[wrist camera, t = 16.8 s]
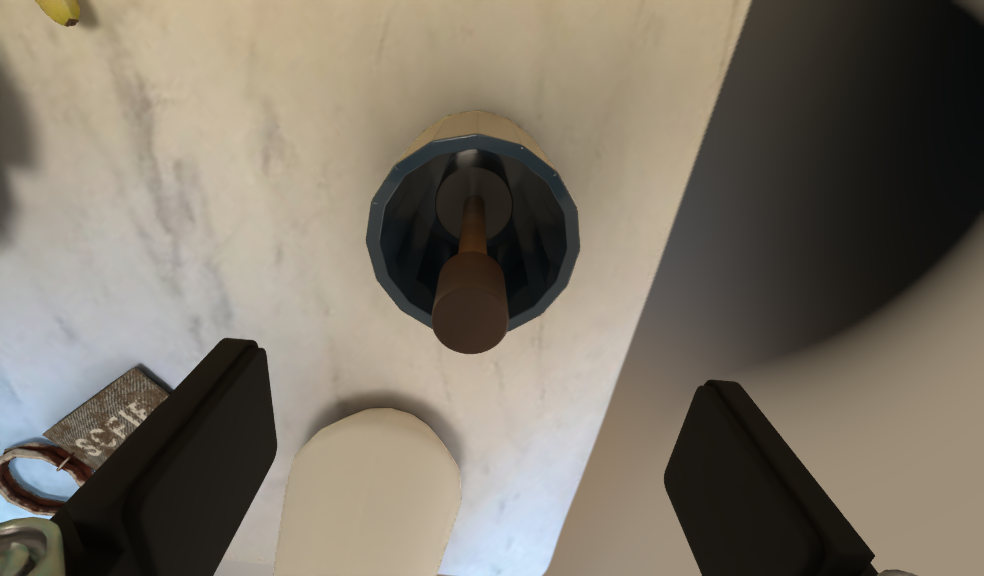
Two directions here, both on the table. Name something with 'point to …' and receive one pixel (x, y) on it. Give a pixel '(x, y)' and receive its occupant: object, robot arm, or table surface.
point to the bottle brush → (472, 255)
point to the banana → (61, 11)
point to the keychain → (84, 437)
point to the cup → (369, 499)
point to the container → (517, 249)
